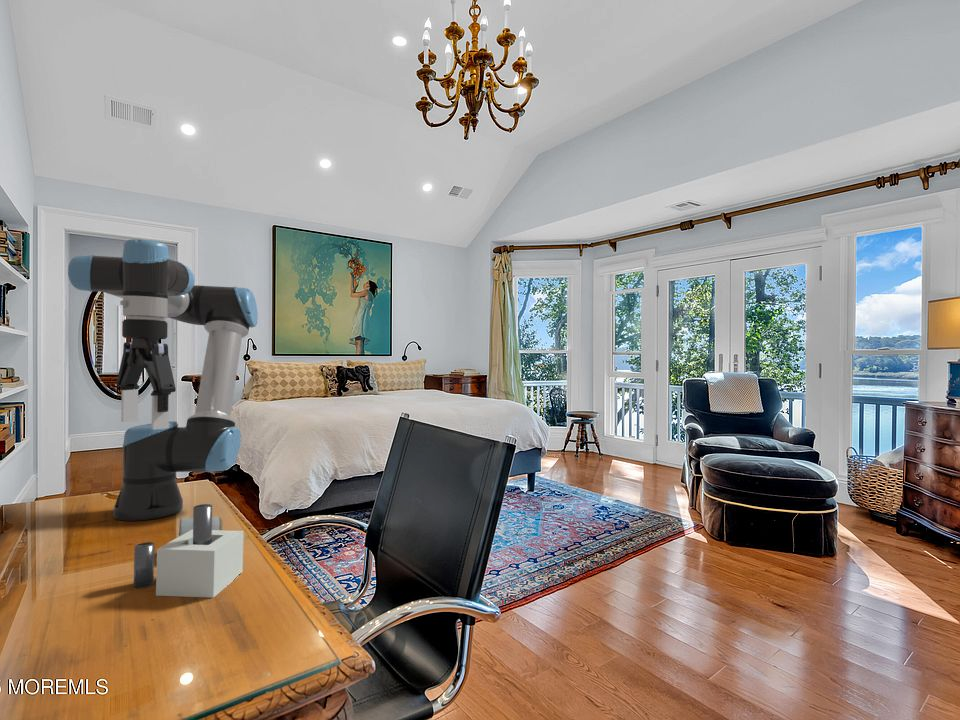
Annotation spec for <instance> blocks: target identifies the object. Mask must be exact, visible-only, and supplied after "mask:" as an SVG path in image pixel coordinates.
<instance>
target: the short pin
mask: <svg viewBox="0 0 960 720" xmlns="http://www.w3.org/2000/svg"><path fill="white" fill-rule="evenodd" d="M155 545H156V543H155V542H152V541H149V542H142V543H138V544H136V545H134V549H133V550H134V551H133V553H134V555H133V582H132V583H133V588H136V589H144V588H147V587H150V586H152V585H154V583H155V582H154V577H155V576H154V575H155V573H154V572H155Z"/></svg>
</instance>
